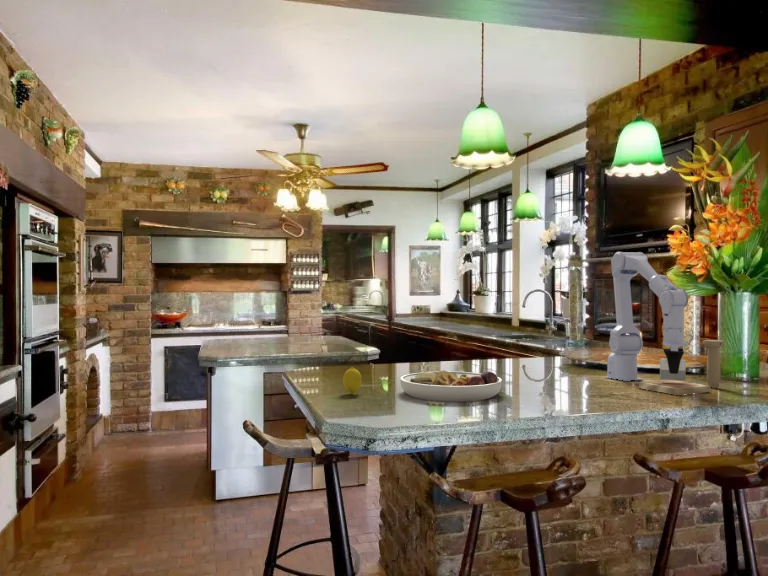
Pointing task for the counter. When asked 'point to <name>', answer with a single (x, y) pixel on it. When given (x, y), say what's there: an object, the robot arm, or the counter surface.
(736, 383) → the counter surface
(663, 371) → the block
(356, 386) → the lemon
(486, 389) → the bowl
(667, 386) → the stand
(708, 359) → the handle
